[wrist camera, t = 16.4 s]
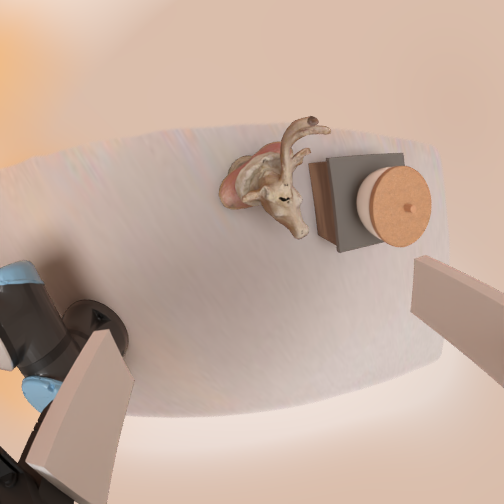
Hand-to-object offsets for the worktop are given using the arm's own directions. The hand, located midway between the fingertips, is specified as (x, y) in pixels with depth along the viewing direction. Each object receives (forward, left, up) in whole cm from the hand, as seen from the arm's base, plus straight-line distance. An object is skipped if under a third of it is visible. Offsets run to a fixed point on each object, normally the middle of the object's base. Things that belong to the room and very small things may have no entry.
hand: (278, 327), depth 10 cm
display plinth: (+22, -1, -37) cm, 43 cm away
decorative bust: (+5, +3, -37) cm, 37 cm away
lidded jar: (+22, -1, -27) cm, 35 cm away
